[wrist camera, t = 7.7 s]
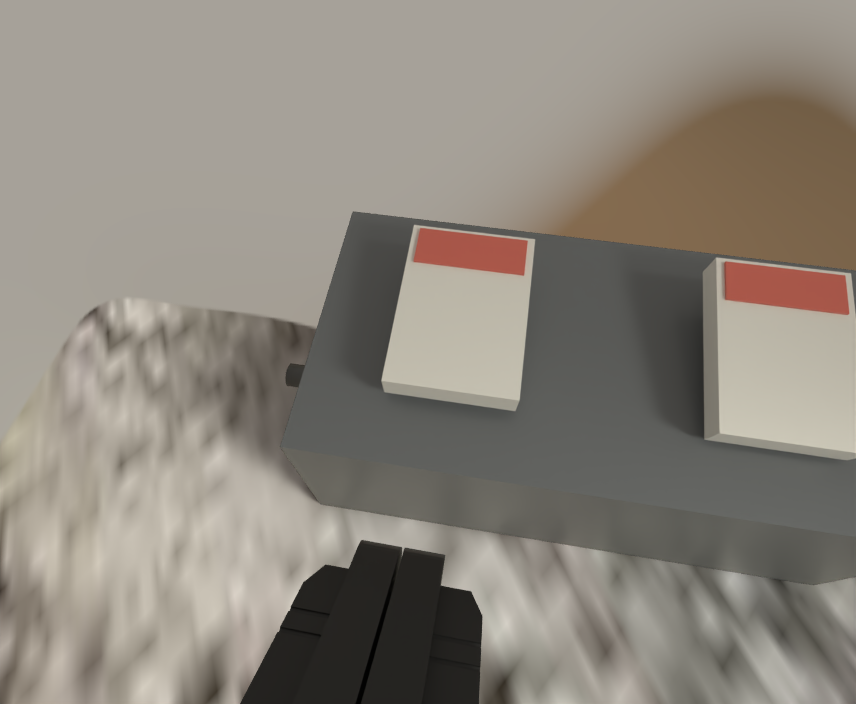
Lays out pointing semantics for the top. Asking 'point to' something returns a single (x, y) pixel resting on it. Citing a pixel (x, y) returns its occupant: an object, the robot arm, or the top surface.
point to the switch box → (564, 419)
